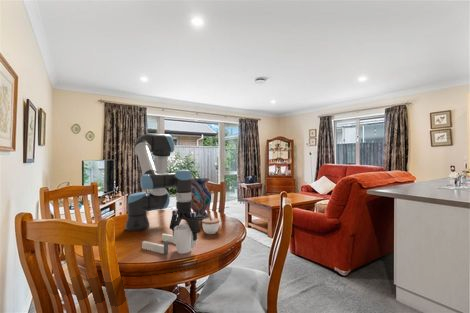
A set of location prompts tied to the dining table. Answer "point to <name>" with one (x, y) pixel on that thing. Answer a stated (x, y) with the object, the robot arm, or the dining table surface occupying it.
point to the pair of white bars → (159, 247)
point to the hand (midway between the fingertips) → (184, 245)
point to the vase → (200, 197)
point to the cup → (183, 238)
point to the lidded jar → (210, 225)
